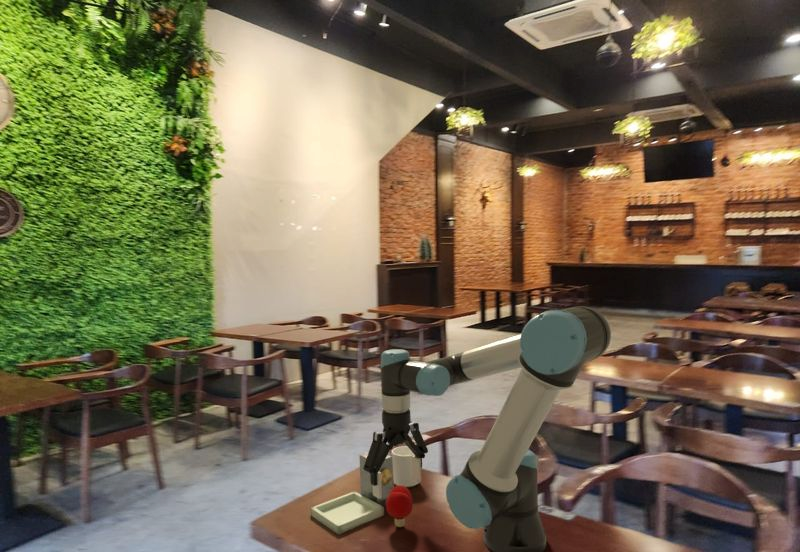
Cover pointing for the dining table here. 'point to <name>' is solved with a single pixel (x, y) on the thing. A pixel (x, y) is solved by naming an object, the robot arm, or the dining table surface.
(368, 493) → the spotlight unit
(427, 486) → the dining table surface
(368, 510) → the tray
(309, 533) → the dining table surface
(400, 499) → the red rounded piece
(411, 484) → the mug
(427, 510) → the dining table surface
